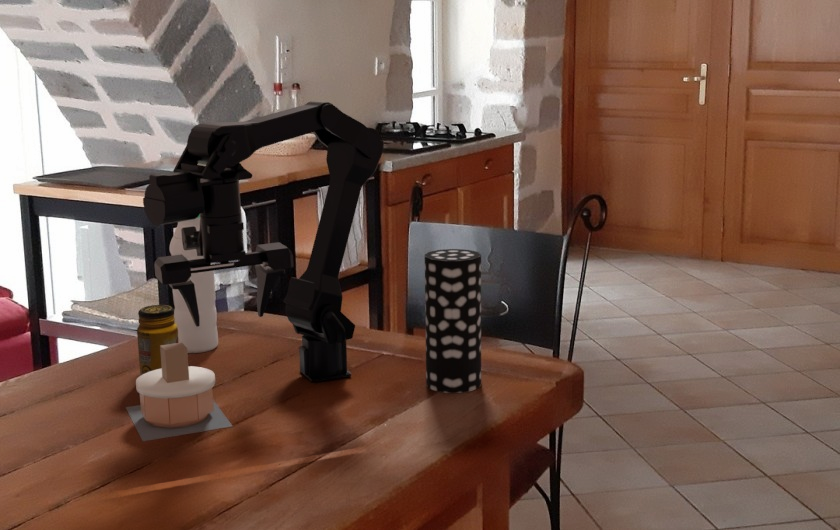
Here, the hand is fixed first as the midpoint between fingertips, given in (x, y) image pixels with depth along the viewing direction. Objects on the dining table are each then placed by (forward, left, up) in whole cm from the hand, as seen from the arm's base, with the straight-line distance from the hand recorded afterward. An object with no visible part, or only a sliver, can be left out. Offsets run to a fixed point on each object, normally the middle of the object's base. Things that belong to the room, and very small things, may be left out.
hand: (229, 321), depth 154 cm
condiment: (+9, -13, -12) cm, 20 cm away
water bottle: (-1, -29, -12) cm, 31 cm away
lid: (+9, +5, -7) cm, 12 cm away
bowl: (+9, +4, -12) cm, 15 cm away
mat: (+9, +4, -12) cm, 16 cm away
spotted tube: (-32, +7, -12) cm, 35 cm away
